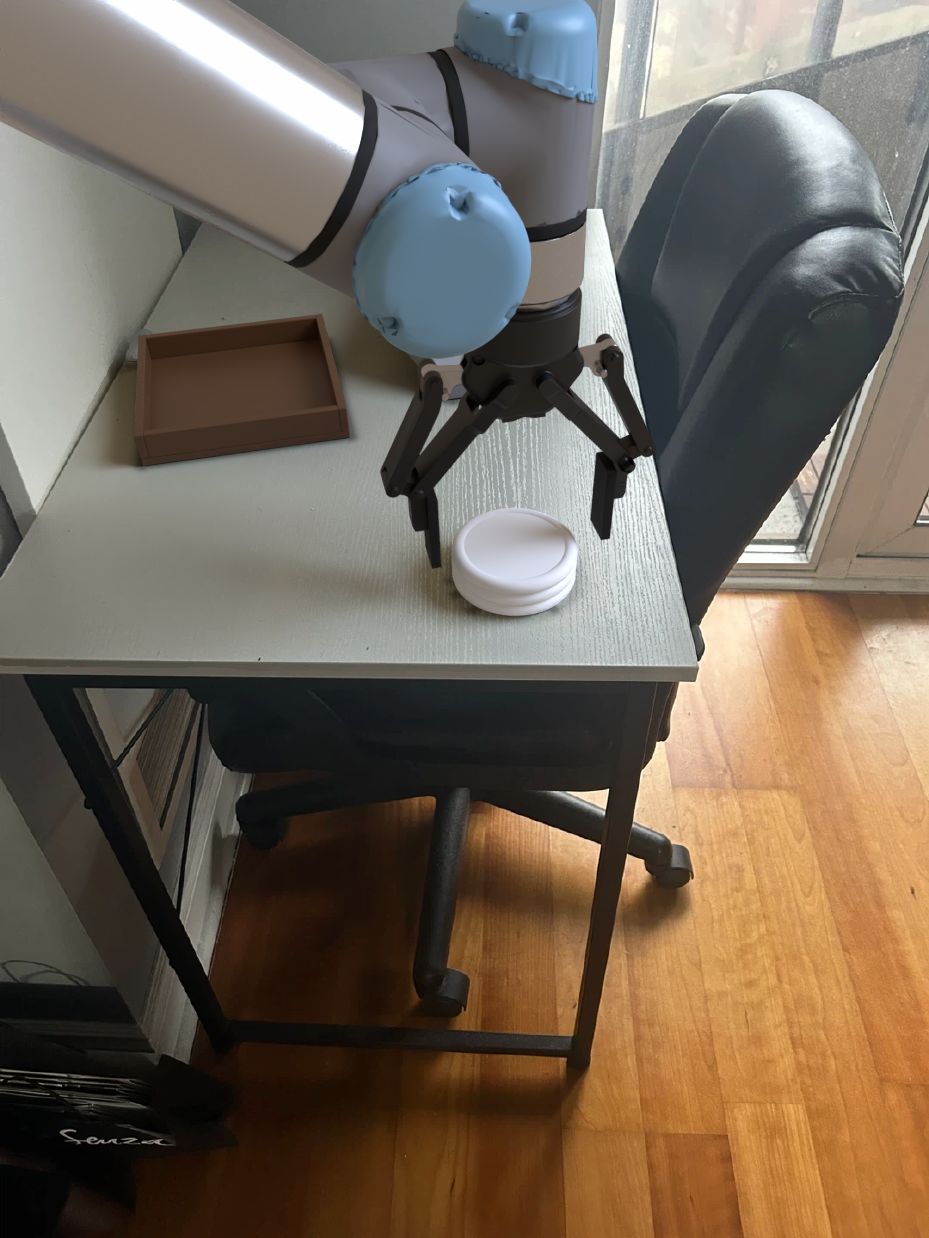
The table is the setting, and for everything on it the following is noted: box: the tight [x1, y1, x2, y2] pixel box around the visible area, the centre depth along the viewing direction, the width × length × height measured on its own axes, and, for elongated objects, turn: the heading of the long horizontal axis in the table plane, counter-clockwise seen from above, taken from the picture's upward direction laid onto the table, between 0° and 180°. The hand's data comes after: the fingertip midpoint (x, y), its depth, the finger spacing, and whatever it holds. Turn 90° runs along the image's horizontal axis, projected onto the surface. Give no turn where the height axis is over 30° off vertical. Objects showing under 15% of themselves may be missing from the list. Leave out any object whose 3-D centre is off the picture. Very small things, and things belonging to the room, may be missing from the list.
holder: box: [133, 313, 351, 467], centre depth 95 cm, size 20×20×3 cm
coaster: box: [450, 507, 579, 617], centre depth 75 cm, size 10×10×4 cm
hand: (517, 543), depth 74 cm, fingers open, 13 cm apart
